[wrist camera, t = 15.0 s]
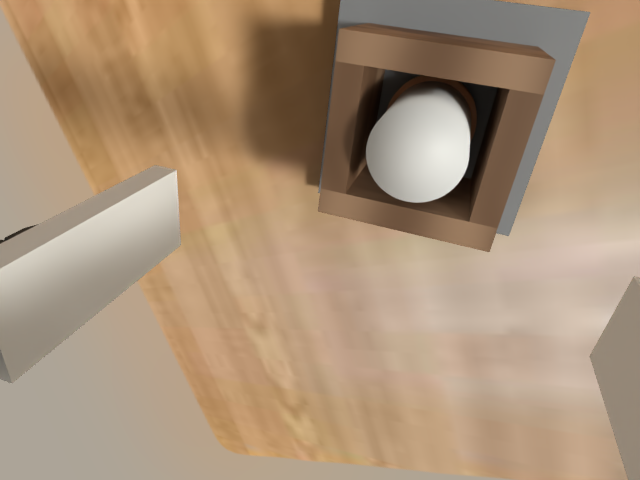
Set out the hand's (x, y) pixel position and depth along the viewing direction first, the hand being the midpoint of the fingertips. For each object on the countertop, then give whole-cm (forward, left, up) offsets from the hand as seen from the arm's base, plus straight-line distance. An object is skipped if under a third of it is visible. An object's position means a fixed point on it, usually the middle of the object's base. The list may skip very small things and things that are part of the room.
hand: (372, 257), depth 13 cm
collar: (0, 0, -19) cm, 19 cm away
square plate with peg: (0, 0, -20) cm, 21 cm away
